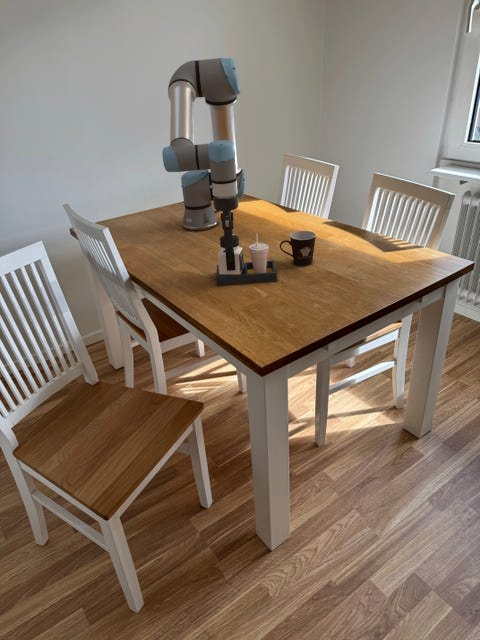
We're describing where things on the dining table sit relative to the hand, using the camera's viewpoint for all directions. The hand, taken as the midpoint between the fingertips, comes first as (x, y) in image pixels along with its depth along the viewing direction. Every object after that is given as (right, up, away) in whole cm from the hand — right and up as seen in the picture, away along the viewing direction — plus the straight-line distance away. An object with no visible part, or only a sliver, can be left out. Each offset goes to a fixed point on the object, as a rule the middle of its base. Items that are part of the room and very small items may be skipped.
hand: (231, 264), depth 149 cm
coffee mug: (+23, +2, +10) cm, 25 cm away
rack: (+5, -4, +2) cm, 7 cm away
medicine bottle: (0, -2, +1) cm, 3 cm away
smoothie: (+10, -3, +2) cm, 10 cm away
